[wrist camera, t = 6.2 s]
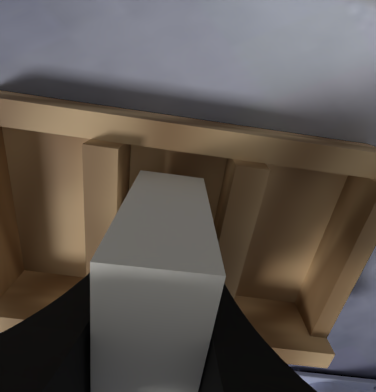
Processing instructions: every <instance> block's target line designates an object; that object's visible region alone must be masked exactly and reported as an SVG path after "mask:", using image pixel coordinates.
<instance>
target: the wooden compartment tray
mask: <svg viewBox="0 0 376 392" xmlns="http://www.w3.org/2000/svg"><path fill="white" fill-rule="evenodd" d="M140 170H143V171H151V172H159V173H166V174H174V175H182V176H190V177H197V178H204V182H205V187H206V191H207V195H208V200H209V204H210V209H211V213H212V217H213V222H214V226H215V230H216V235H217V239H218V244H219V248H220V252H221V257H222V261H223V265H224V270H225V274H226V278H225V282H224V283H225V285H226V287H227V288H228V290H229V292H230V294H231V295H232V297H233V298H234V300H235V302H236V303H237V305H238V306H239V308H240V309H241V311H242V312H243V313H244V315H245V316H246V318H247V319H248V320H249V322H250V323H251V324H252V326H253V327H254V328H255V329H256V331H257V332H258V333H259V334H260V335H261V337H262V338H263V339H264V340H265V341H266V342H267V343H268V345H269V346H270V347H271V348H272V349H273V350H274V351H275V352H276V353H277V354H278V355H279V356H280V358H281V359H282V360H283V361H284V362H285V363H286V364H293V365H302V366H311V367H320V368H328V366H329V365H330V363H331V361H332V359H333V358H334V356H335V353H334V351H333V349H332V348H331V346H330V344H329V342H328V340H327V336H328V335H329V333H330V331H331V329H332V327H333V325H334V323H335V321H336V320H337V318H338V316H339V314H340V312H341V310H342V308H343V306H344V304H345V303H346V301H347V299H348V297H349V295H350V293H351V291H352V289H353V287H354V286H355V284H356V282H357V280H358V278H359V276H360V274H361V272H362V271H363V269H364V267H365V265H366V263H367V261H368V259H369V257H370V255H371V254H372V252H373V250H374V248H375V246H376V147H375V146H372V145H369V144H364V143H358V142H351V141H344V140H337V139H330V138H323V137H316V136H310V135H303V134H296V133H289V132H282V131H275V130H268V129H262V128H255V127H248V126H241V125H234V124H227V123H220V122H213V121H207V120H200V119H193V118H186V117H179V116H172V115H165V114H159V113H152V112H145V111H138V110H131V109H124V108H117V107H111V106H104V105H97V104H90V103H83V102H76V101H69V100H63V99H56V98H49V97H42V96H35V95H28V94H21V93H15V92H8V91H1V90H0V332H3V331H5V330H7V329H9V328H11V327H13V326H14V325H16V324H18V323H20V322H22V321H23V320H25V319H26V318H28V317H30V316H31V315H33V314H35V313H36V312H38V311H39V310H41V309H43V308H44V307H46V306H47V305H49V304H50V303H52V302H53V301H54V300H56V299H57V298H59V297H60V296H61V295H63V294H64V293H65V292H67V291H68V290H69V289H71V288H72V287H73V286H74V285H76V284H77V283H78V282H79V281H80V280H82V279H83V278H84V277H85V276H86V275H88V274H89V273H90V261H91V259H92V257H93V256H94V254H95V252H96V250H97V248H98V246H99V245H100V243H101V241H102V239H103V237H104V236H105V234H106V232H107V230H108V228H109V227H110V225H111V223H112V221H113V219H114V217H115V216H116V214H117V212H118V210H119V208H120V207H121V205H122V203H123V201H124V199H125V197H126V196H127V194H128V192H129V190H130V188H131V187H132V185H133V183H134V181H135V179H136V177H137V176H138V174H139V172H140Z"/></svg>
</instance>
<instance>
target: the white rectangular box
mask: <svg viewBox="0 0 376 392" xmlns="http://www.w3.org/2000/svg"><path fill="white" fill-rule="evenodd" d="M225 278H226V274H225V270H224V265H223V261H222V257H221V252H220V248H219V244H218V239H217V235H216V230H215V226H214V222H213V217H212V213H211V209H210V204H209V200H208V195H207V191H206V187H205V182H204V178H197V177H190V176H182V175H174V174H166V173H159V172H151V171H143V170H140V172H139V174H138V176H137V177H136V179H135V181H134V183H133V185H132V187H131V188H130V190H129V192H128V194H127V196H126V197H125V199H124V201H123V203H122V205H121V207H120V208H119V210H118V212H117V214H116V216H115V217H114V219H113V221H112V223H111V225H110V227H109V228H108V230H107V232H106V234H105V236H104V237H103V239H102V241H101V243H100V245H99V246H98V248H97V250H96V252H95V254H94V256H93V257H92V259H91V261H90V388H91V392H198V390H199V386H200V382H201V377H202V373H203V369H204V365H205V361H206V357H207V353H208V348H209V344H210V340H211V336H212V332H213V328H214V324H215V319H216V315H217V311H218V307H219V303H220V299H221V295H222V290H223V286H224V282H225Z"/></svg>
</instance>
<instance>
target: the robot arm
mask: <svg viewBox="0 0 376 392" xmlns="http://www.w3.org/2000/svg"><path fill="white" fill-rule="evenodd" d="M0 392H91V388H90V273H89V274H88V275H86V276H85V277H84V278H83V279H82V280H80V281H79V282H78V283H77V284H76V285H74V286H73V287H72V288H71V289H69V290H68V291H67V292H65V293H64V294H63V295H61V296H60V297H59V298H57V299H56V300H54V301H53V302H52V303H50V304H49V305H47V306H46V307H44V308H43V309H41V310H39V311H38V312H36V313H35V314H33V315H31V316H30V317H28V318H26V319H25V320H23V321H22V322H20V323H18V324H16V325H14V326H13V327H11V328H9V329H7V330H5V331H3V332H2V333H0ZM198 392H376V380H374V379H364V378H355V377H346V376H337V375H328V374H319V373H309V372H300V371H294V370H293V369H292V368H291V367H290V366H289V365H287V364H286V363H285V362H284V361H283V360H282V359H281V358H280V356H279V355H278V354H277V353H276V352H275V351H274V350H273V349H272V348H271V347H270V346H269V345H268V343H267V342H266V341H265V340H264V339H263V338H262V337H261V335H260V334H259V333H258V332H257V331H256V329H255V328H254V327H253V326H252V324H251V323H250V322H249V320H248V319H247V318H246V316H245V315H244V313H243V312H242V311H241V309H240V308H239V306H238V305H237V303H236V302H235V300H234V298H233V297H232V295H231V294H230V292H229V290H228V288H227V287H226V285H225V283H224V286H223V290H222V295H221V299H220V303H219V307H218V311H217V315H216V319H215V324H214V328H213V332H212V336H211V340H210V344H209V348H208V353H207V357H206V361H205V365H204V369H203V373H202V377H201V382H200V386H199V390H198Z"/></svg>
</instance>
